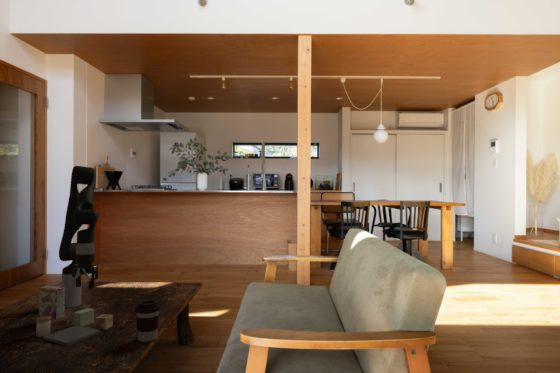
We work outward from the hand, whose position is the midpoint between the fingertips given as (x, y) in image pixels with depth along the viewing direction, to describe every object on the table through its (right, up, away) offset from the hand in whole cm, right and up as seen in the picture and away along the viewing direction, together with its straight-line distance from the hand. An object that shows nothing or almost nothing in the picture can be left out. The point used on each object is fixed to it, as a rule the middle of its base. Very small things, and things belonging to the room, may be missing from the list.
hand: (84, 287), depth 169 cm
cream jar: (-11, -16, -13) cm, 23 cm away
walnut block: (-9, -16, -6) cm, 20 cm away
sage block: (0, -17, 0) cm, 17 cm away
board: (+3, -16, -15) cm, 22 cm away
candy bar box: (-15, -17, 0) cm, 23 cm away
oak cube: (+11, -17, -5) cm, 20 cm away
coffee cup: (+35, -17, -17) cm, 43 cm away
